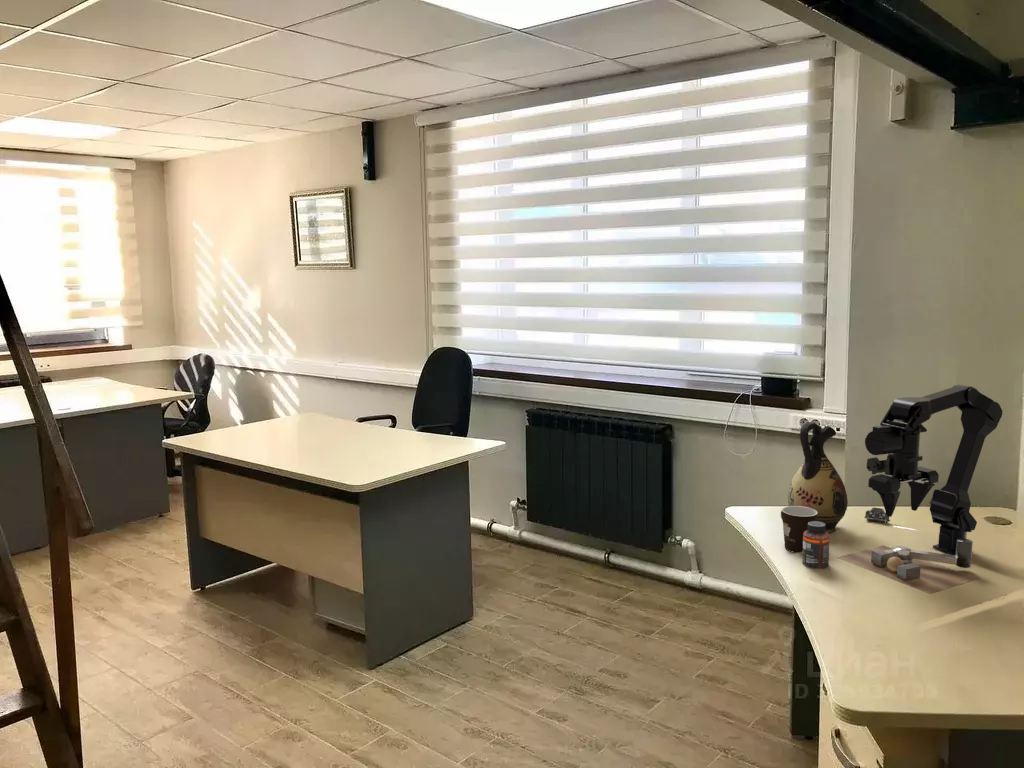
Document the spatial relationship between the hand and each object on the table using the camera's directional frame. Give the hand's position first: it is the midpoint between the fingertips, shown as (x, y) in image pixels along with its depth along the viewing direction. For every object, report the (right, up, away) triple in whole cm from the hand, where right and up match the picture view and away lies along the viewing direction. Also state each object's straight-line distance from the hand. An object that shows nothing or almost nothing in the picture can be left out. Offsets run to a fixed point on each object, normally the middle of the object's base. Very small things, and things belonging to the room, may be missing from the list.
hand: (901, 513), depth 197 cm
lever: (+1, -12, -6) cm, 13 cm away
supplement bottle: (-22, -13, -3) cm, 26 cm away
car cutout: (+11, -8, +29) cm, 32 cm away
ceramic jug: (-12, -9, +26) cm, 30 cm away
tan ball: (-6, -12, -9) cm, 16 cm away
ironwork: (-3, -12, -7) cm, 14 cm away
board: (-2, -13, -6) cm, 14 cm away
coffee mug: (-21, -11, +12) cm, 27 cm away
